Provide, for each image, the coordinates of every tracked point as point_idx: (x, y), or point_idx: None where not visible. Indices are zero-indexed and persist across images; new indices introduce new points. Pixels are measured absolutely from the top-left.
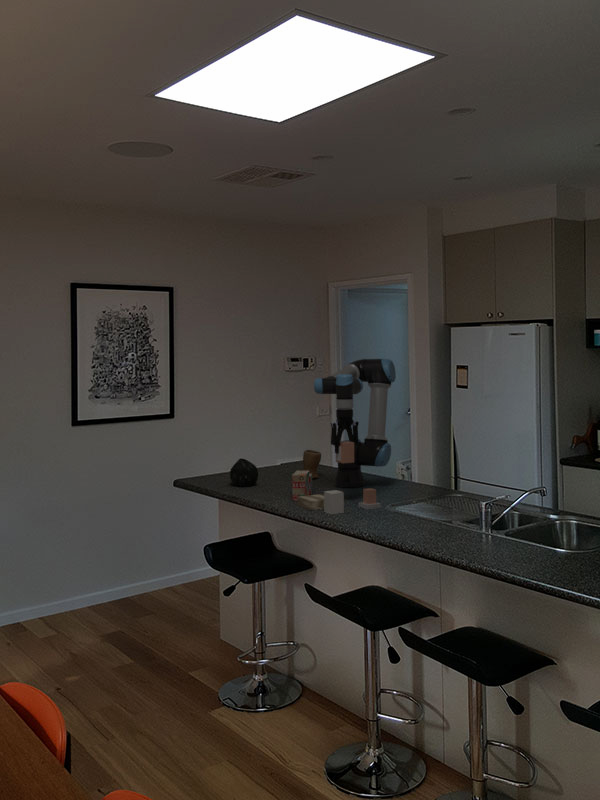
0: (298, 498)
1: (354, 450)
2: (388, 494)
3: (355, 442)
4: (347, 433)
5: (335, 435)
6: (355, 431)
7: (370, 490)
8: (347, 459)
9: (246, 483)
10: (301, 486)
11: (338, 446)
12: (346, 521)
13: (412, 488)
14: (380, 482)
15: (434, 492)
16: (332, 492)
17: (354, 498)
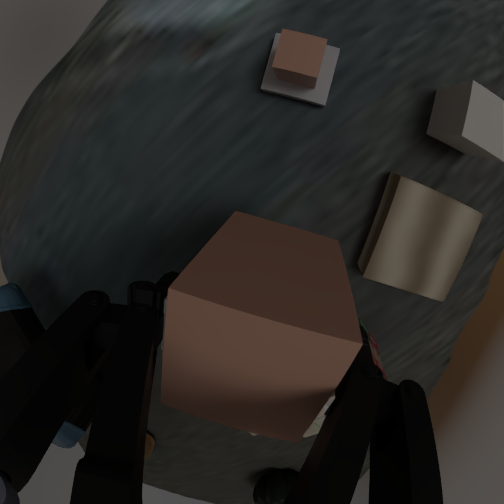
0: (446, 291)
1: (164, 277)
2: (93, 186)
3: (112, 315)
4: (143, 462)
5: (421, 474)
6: (31, 404)
7: (315, 36)
8: (297, 237)
9: (297, 475)
10: (372, 356)
11: (352, 365)
12: (490, 35)
13: (19, 201)
14: (39, 306)
15: (16, 125)
16: (499, 120)
17: (212, 223)
